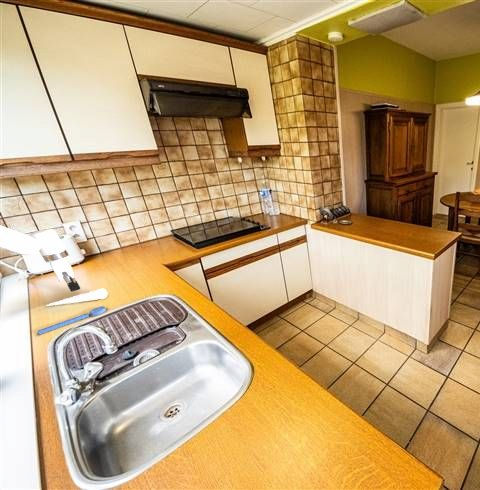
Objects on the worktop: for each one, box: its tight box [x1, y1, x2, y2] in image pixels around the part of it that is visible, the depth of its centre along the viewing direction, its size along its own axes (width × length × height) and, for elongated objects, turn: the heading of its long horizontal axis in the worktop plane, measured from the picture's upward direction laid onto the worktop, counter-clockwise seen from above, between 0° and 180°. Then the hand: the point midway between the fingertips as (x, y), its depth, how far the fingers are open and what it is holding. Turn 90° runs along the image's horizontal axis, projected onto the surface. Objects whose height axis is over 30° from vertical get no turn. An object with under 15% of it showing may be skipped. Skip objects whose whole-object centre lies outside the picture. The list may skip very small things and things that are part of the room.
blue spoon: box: [37, 305, 107, 335], centre depth 109 cm, size 20×5×1 cm, turn 136°
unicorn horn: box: [45, 288, 108, 307], centre depth 122 cm, size 5×24×5 cm, turn 100°
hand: (75, 289), depth 128 cm, fingers closed
